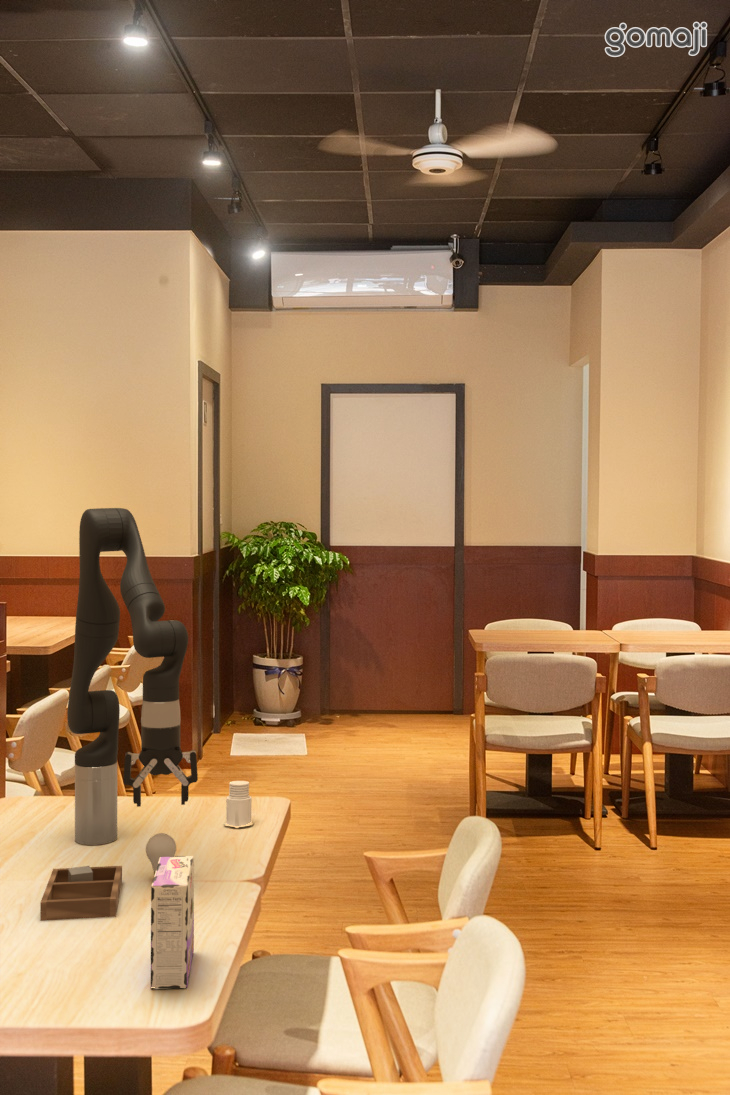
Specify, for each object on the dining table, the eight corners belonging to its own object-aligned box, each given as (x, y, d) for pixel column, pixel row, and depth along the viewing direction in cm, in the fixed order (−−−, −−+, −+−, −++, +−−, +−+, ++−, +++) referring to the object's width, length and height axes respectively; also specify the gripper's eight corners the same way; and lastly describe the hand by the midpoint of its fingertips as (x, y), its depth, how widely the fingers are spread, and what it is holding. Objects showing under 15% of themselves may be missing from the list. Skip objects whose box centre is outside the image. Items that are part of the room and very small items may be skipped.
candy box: (159, 953, 177) (159, 855, 176) (194, 952, 177) (195, 854, 177) (149, 990, 163) (149, 884, 163) (188, 989, 164) (188, 883, 163)
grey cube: (67, 889, 204) (67, 868, 204) (89, 886, 206) (89, 865, 206) (71, 895, 201) (71, 874, 200) (92, 892, 202) (92, 872, 202)
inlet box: (53, 889, 206) (53, 868, 206) (121, 885, 208) (121, 865, 208) (40, 924, 188) (40, 902, 188) (115, 920, 191) (115, 898, 190)
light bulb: (169, 890, 206) (169, 839, 206) (140, 888, 207) (140, 837, 207) (180, 880, 212) (180, 830, 212) (152, 877, 213) (152, 828, 213)
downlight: (251, 830, 246) (252, 786, 246) (221, 829, 246) (221, 786, 246) (255, 821, 254) (256, 779, 254) (226, 821, 254) (226, 779, 254)
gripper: (197, 718, 213) (197, 798, 214) (124, 719, 211) (124, 801, 212) (197, 725, 206) (197, 808, 206) (122, 727, 204) (122, 811, 204)
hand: (160, 804), depth 209 cm, fingers open, 8 cm apart
